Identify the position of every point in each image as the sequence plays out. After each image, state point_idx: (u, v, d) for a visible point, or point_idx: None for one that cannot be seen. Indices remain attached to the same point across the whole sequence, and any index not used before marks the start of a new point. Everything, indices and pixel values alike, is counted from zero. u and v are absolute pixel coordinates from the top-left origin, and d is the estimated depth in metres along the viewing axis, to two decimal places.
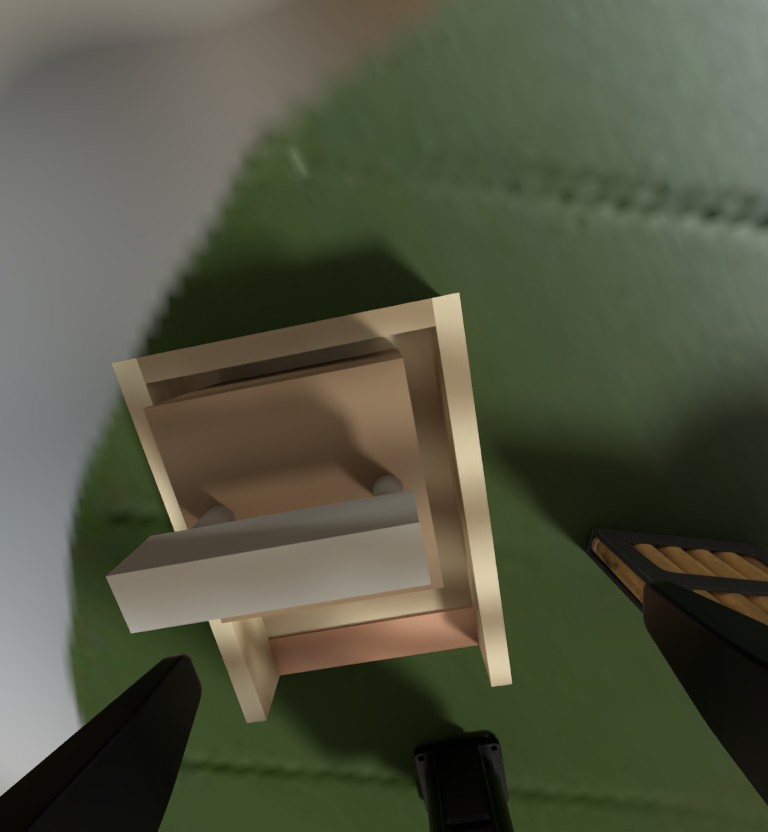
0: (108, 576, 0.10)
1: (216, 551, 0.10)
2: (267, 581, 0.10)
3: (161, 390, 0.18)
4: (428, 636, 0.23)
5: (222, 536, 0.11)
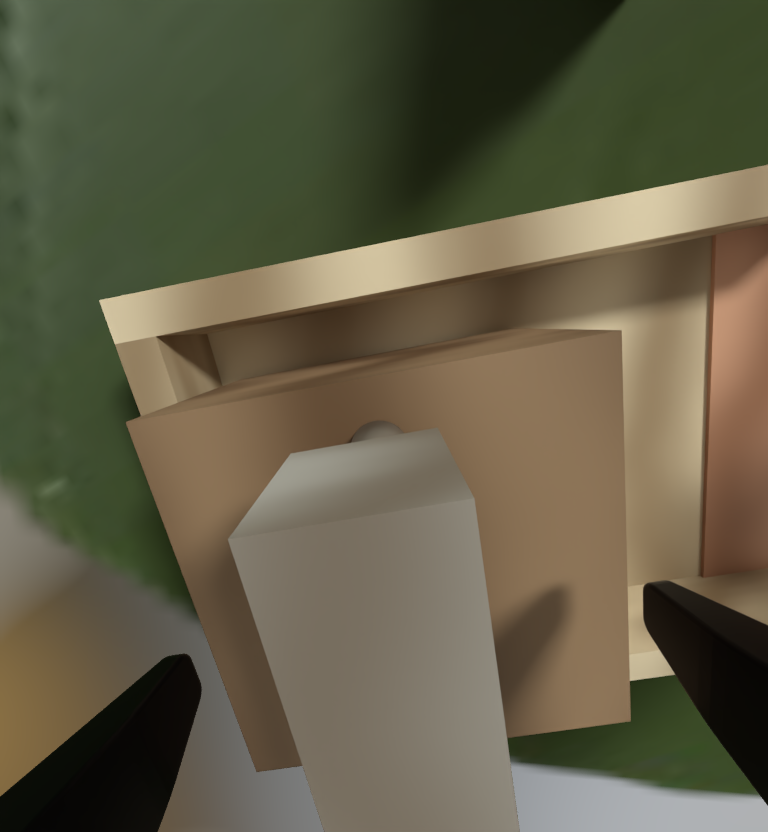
0: None
1: None
2: None
3: None
4: (762, 321, 0.13)
5: None
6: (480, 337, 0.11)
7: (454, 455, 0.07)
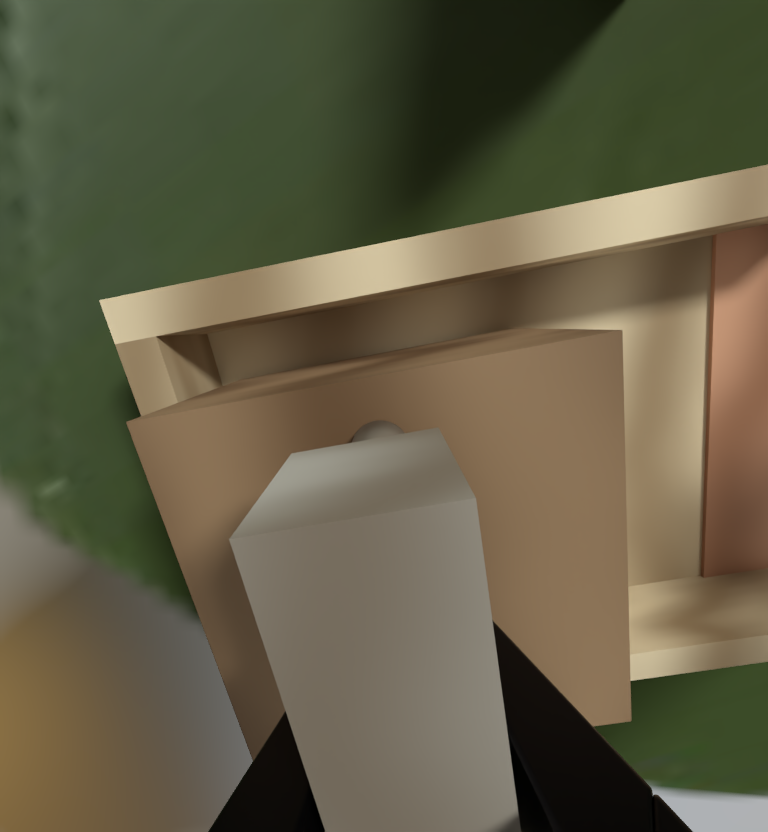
0: None
1: None
2: None
3: None
4: (762, 320, 0.13)
5: None
6: (480, 337, 0.11)
7: (454, 455, 0.07)
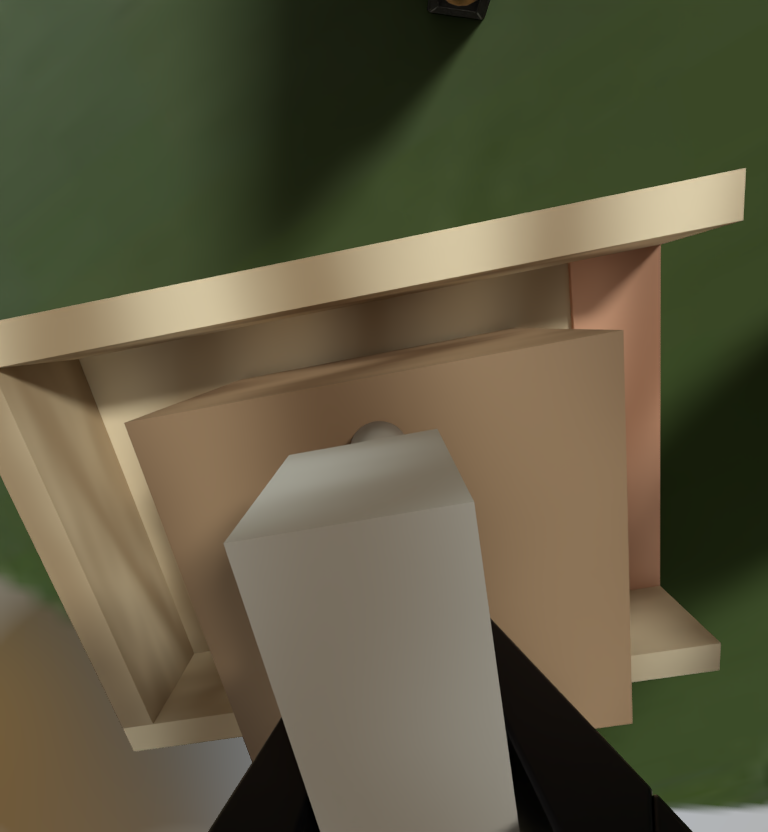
0: None
1: None
2: None
3: (180, 696, 0.14)
4: None
5: None
6: (481, 337, 0.11)
7: (454, 456, 0.07)
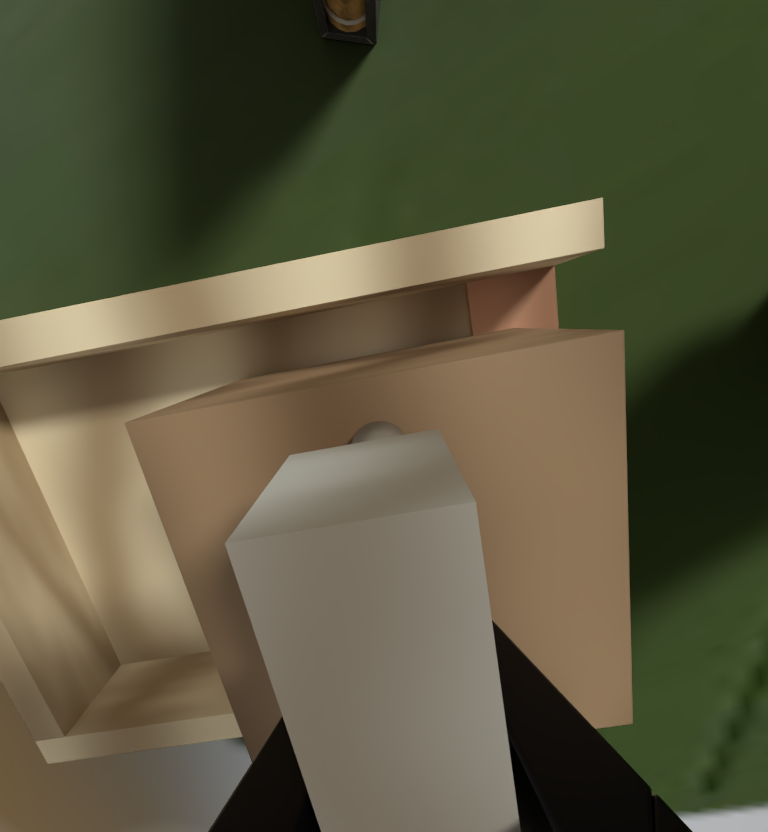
0: None
1: None
2: None
3: (96, 708, 0.15)
4: None
5: None
6: (481, 337, 0.11)
7: (454, 456, 0.07)
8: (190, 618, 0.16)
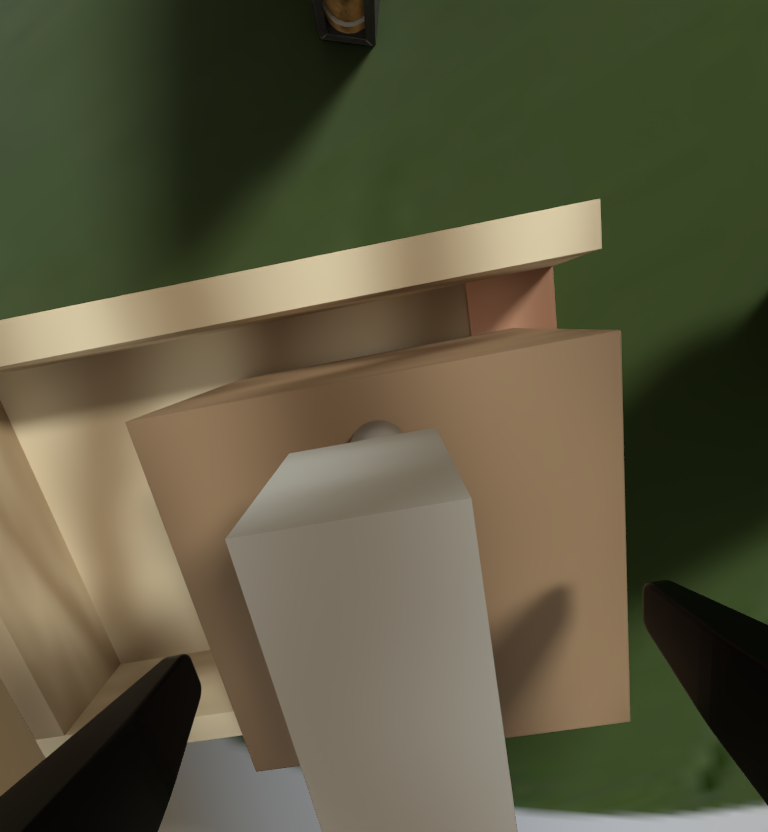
0: None
1: None
2: None
3: (96, 707, 0.15)
4: None
5: None
6: (480, 337, 0.11)
7: (452, 455, 0.07)
8: (190, 617, 0.16)
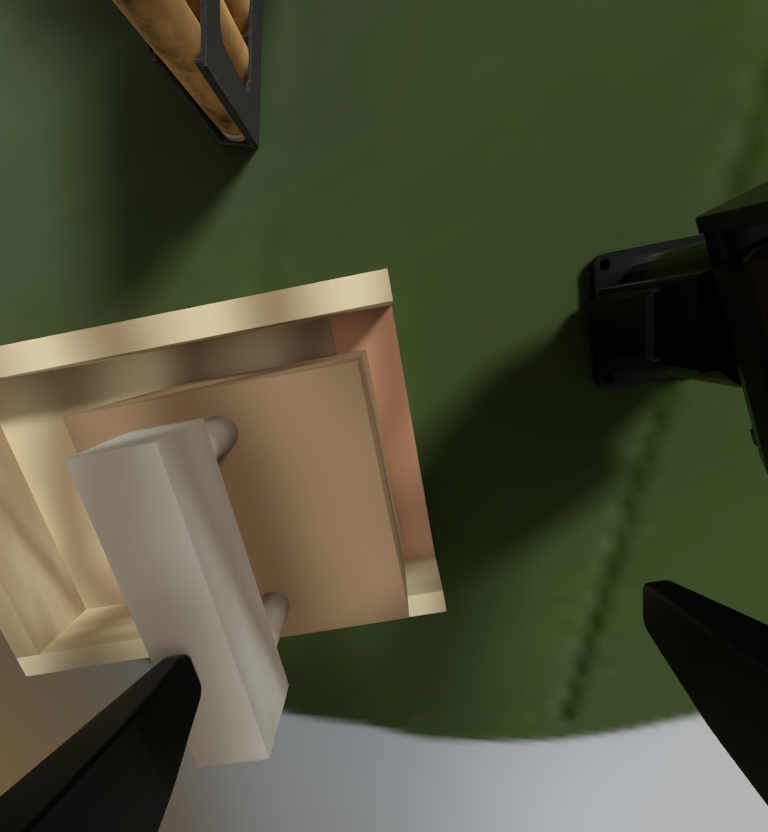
0: None
1: None
2: (181, 628, 0.09)
3: (64, 637, 0.19)
4: (377, 376, 0.18)
5: None
6: (331, 357, 0.16)
7: (266, 437, 0.12)
8: None
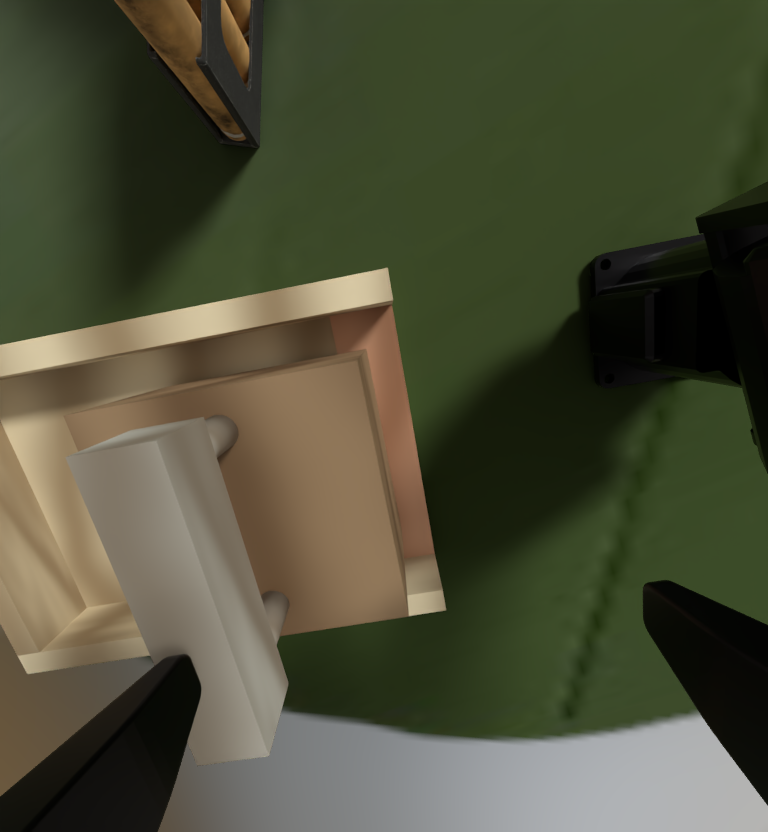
0: None
1: None
2: (182, 625, 0.09)
3: (65, 635, 0.19)
4: (377, 375, 0.18)
5: None
6: (331, 357, 0.16)
7: (267, 436, 0.12)
8: None
